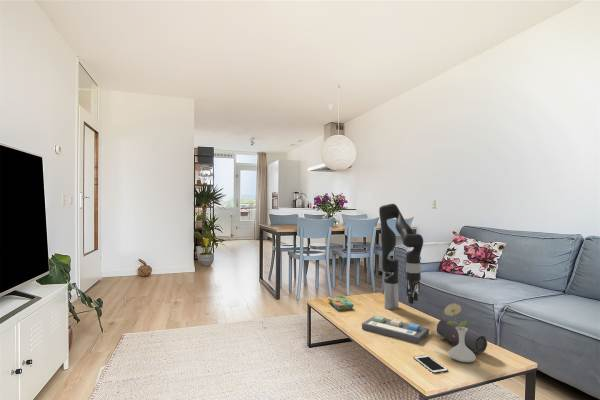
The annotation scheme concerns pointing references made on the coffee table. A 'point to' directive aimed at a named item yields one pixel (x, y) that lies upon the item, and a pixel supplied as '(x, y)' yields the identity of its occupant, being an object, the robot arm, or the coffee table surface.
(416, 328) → the button blue
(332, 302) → the puzzle game
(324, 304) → the coffee table surface
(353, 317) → the coffee table surface
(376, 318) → the button sage
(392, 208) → the robot arm
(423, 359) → the cell phone
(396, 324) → the button sand
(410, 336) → the button board
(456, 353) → the flower in vase
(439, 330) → the bluetooth speaker
